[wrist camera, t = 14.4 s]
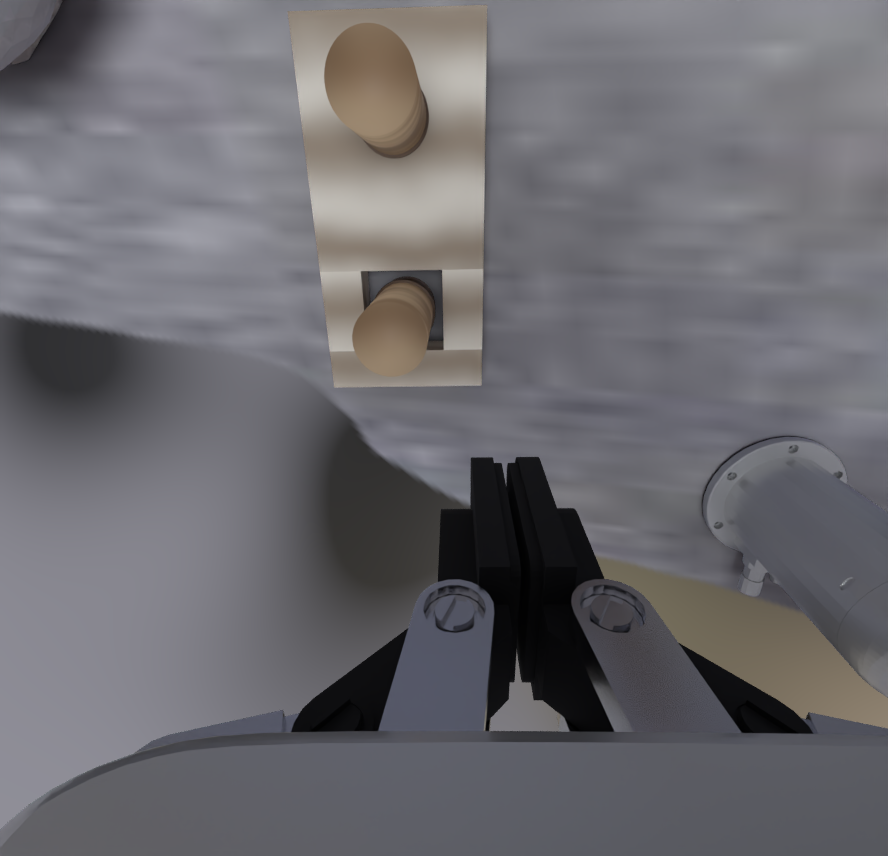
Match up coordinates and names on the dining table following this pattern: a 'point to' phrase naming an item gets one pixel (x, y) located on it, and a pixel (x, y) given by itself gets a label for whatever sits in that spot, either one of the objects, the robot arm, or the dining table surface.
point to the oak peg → (395, 327)
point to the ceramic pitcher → (23, 27)
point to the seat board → (397, 170)
